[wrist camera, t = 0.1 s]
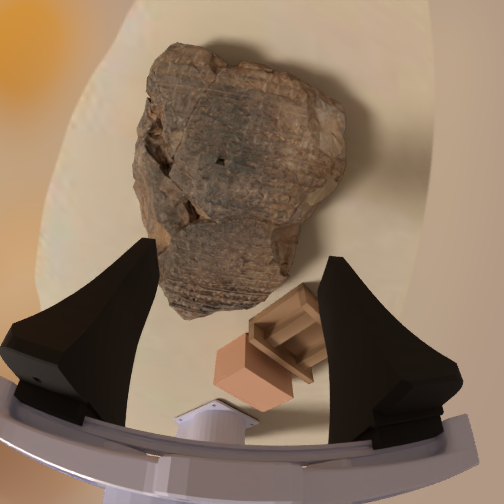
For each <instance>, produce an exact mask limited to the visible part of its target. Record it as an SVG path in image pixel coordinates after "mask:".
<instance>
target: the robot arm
mask: <svg viewBox="0 0 504 504" xmlns="http://www.w3.org/2000/svg"><path fill="white" fill-rule="evenodd" d="M159 278H160V272H159V264H158V256H157V247H156V239H151V238H141V239H140V240H139V241H138V242H136V243H135V244H134V245H133V246H132V247H131V248H130V249H129V250H128V251H126V252H125V253H124V254H123V255H122V256H121V257H120V258H119V259H117V260H116V261H115V262H114V263H113V264H112V265H111V266H109V267H108V268H107V269H106V270H105V271H103V272H102V273H101V274H100V275H98V276H97V277H96V278H95V279H94V280H92V281H91V282H90V283H88V284H87V285H85V286H84V287H83V288H81V289H80V290H78V291H77V292H75V293H74V294H72V295H70V296H69V297H67V298H65V299H64V300H62V301H60V302H59V303H57V304H55V305H54V306H52V307H50V308H48V309H46V310H44V311H42V312H40V313H38V314H35V315H33V316H31V317H28V318H26V319H23V320H21V321H18V322H16V323H14V324H12V326H11V328H10V329H9V331H8V333H7V335H6V337H5V339H4V341H3V342H2V344H1V346H0V355H1V357H2V359H3V360H4V362H5V363H6V364H7V366H8V367H9V368H10V369H11V370H12V371H13V372H14V374H15V375H16V376H17V377H18V378H19V379H20V381H19V383H18V385H16V384H15V383H13V382H12V381H10V380H7V379H6V378H3V377H1V376H0V441H1V442H3V443H4V444H6V445H7V446H9V447H11V448H12V449H14V450H16V451H18V452H20V453H22V454H24V455H25V456H27V457H29V458H31V459H33V460H35V461H37V462H39V463H41V464H44V465H46V466H48V467H50V468H52V469H55V470H57V471H59V472H61V473H63V474H66V475H68V476H71V477H73V478H76V479H79V480H81V481H84V482H87V483H89V484H92V485H95V486H98V487H101V488H104V489H105V492H104V498H103V504H362V503H367V502H372V501H377V500H380V499H385V498H389V497H393V496H396V495H400V494H404V493H407V492H410V491H414V490H417V489H420V488H423V487H426V486H429V485H432V484H435V483H438V482H441V481H443V480H446V479H448V478H451V477H453V476H455V475H457V474H459V473H462V472H464V471H466V470H468V469H470V468H472V467H474V466H476V465H478V464H479V458H478V453H477V449H476V445H475V441H474V437H473V433H472V429H471V426H470V422H469V418H468V415H467V414H463V415H459V416H456V417H452V418H449V419H446V420H444V421H441V417H440V415H442V414H443V412H444V411H443V407H442V405H443V404H444V403H446V402H447V401H448V400H449V399H450V398H452V397H453V396H454V395H455V394H456V393H457V392H458V391H459V390H460V389H461V387H462V385H463V379H462V377H461V374H460V371H459V368H458V366H457V363H455V362H454V361H452V360H450V359H449V358H447V357H445V356H443V355H442V354H440V353H438V352H437V351H436V350H434V349H433V348H431V347H430V346H428V345H427V344H426V343H424V342H423V341H421V340H420V339H419V338H418V337H416V336H415V335H414V334H413V333H411V332H410V331H409V330H408V329H407V328H406V327H404V326H403V325H402V324H401V323H400V322H399V321H398V320H397V319H396V318H395V317H394V316H393V315H392V314H391V313H390V312H389V311H388V310H387V309H386V308H385V307H384V306H383V305H382V304H381V303H380V302H379V300H378V299H377V298H376V297H375V296H374V295H373V294H372V292H371V291H370V290H369V289H368V288H367V286H366V285H365V284H364V283H363V281H362V280H361V279H360V278H359V276H358V275H357V274H356V273H355V271H354V270H353V269H352V268H351V266H350V265H349V264H348V263H347V261H346V260H345V259H344V258H343V257H336V256H329V259H328V262H327V265H326V268H325V271H324V274H323V277H322V280H321V282H320V285H319V288H318V305H319V314H320V320H321V325H322V330H323V335H324V340H325V345H326V351H327V356H328V364H329V380H330V425H329V441H328V444H324V445H301V446H263V445H245V430H246V429H248V428H251V427H253V426H256V425H258V424H259V421H258V420H256V419H254V418H252V417H250V416H248V415H246V414H244V413H242V412H240V411H238V410H236V409H234V408H232V407H230V406H229V405H227V404H225V403H223V402H221V401H219V400H214V401H212V402H210V403H208V404H206V405H204V406H201V407H199V408H197V409H195V410H193V411H190V412H188V413H186V414H183V415H181V416H179V417H176V418H174V422H175V423H177V424H178V428H177V434H176V437H171V436H165V435H160V434H154V433H149V432H144V431H140V430H135V429H131V428H127V427H125V420H126V409H127V400H128V393H129V385H130V379H131V374H132V368H133V363H134V358H135V354H136V349H137V345H138V342H139V339H140V336H141V333H142V330H143V328H144V325H145V322H146V319H147V317H148V314H149V311H150V309H151V306H152V303H153V301H154V298H155V294H156V290H157V287H158V282H159ZM146 453H148V454H153V455H158V456H161V457H154V456H147V454H146ZM302 466H307V467H306V468H302Z"/></svg>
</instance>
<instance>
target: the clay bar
mask: <svg viewBox="0 0 504 504" xmlns="http://www.w3.org/2000/svg"><path fill="white" fill-rule="evenodd" d="M213 384H214V385H215V386H217V387H219V388H220V389H222V390H224V391H225V392H227V393H229V394H231V395H232V396H234V397H236V398H238V399H239V400H241V401H243V402H245V403H247V404H248V405H250V406H252V407H254V408H256V409H258V410H260V411H261V412H265V411H267V410H269V409H272V408H274V407H276V406H278V405H280V404H283V403H285V402H287V401H289V400H291V399H293V398H294V397H293V388H292V379H291V372H290V371H289V370H287V369H286V368H285V367H283V366H282V365H280V364H279V363H278V362H276V361H275V360H273V359H272V358H271V357H269V356H268V355H266V354H265V353H264V352H262V351H261V350H260V349H258V348H257V347H255V346H254V345H253V344H251V343H250V342H249V335H248V334H246V333H245V334H243V335H241V336H240V337H238V338H237V339H235V340H234V341H232V342H231V343H229V344H227V345H226V346H224V347H223V348H221V349H220V350H218V351H217V357H216V365H215V374H214V383H213Z"/></svg>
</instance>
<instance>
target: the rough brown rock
mask: <svg viewBox="0 0 504 504" xmlns="http://www.w3.org/2000/svg"><path fill="white" fill-rule="evenodd" d="M146 92H147V93H148V95H149V96H150V98H148V97H147V100H146V106H145V111H144V113H143V116H142V118H141V120H140V122H139V125H138V127H137V135H138V140H137V142H136V144H135V156H134V163H133V164H132V167H133V177H134V179H135V183H134V185H133V188H134V191H135V193H136V195H137V198H138V200H139V202H140V210H141V216H142V221H143V224H144V226H145V228H146V230H147V232H148V238H151V239H156V247H157V256H158V264H159V272H160V278H159V282H158V284H159V285H160V287H161V288H162V290H163V292H164V295H165V296H166V297H167V298H168V301H169V306H171V307H172V308H173V309H174V310H175V311H176V312H177V313H178V314H179V315H180V316H181V317H182V318H183V319H185V320H192V319H195V318H199V317H205V316H208V315H210V314H212V313H214V312H217V311H232V310H242V309H246V310H247V309H250V308H252V307H255V306H256V305H258V304H259V303H260V302H263V301H265V300H266V299H267V297H268V296H269V294H271V293H272V292H273V291H274V290H275V289H276V288H278V287H279V286H281V285H282V284H283V283H284V282H285V281H286V280H287V279H288V277H289V274H288V271H289V268H290V266H291V265H292V263H293V259H294V255H295V248H296V245H297V243H298V235H299V232H300V229H301V224H302V222H304V221H305V220H307V219H309V218H310V217H311V214H312V212H313V211H314V210H315V209H316V208H317V206H318V205H319V204H320V202H321V200H322V199H323V198H325V197H326V196H328V195H329V194H331V193H332V192H334V190H335V189H336V187H337V186H338V184H339V183H340V181H341V179H342V176H343V173H344V170H345V167H346V144H345V140H344V131H345V127H346V116H345V112H344V109H343V107H342V106H341V104H340V103H339V102H337V101H335V100H333V99H331V98H329V97H327V96H326V95H325V94H324V93H322V92H320V91H319V90H317V89H315V88H313V87H311V86H309V85H308V84H305V83H303V82H301V81H300V80H299V79H297V78H296V77H294V76H293V75H291V74H289V73H288V72H282V73H281V72H276V71H274V70H273V69H270V68H268V67H267V66H264V65H260V64H256V63H251V62H244V61H241V62H240V63H239V64H238V65H236V66H233V67H231V66H228V64H227V63H226V62H225V61H224V60H223V59H221V58H218V57H217V56H216V54H214V53H212V52H210V51H208V50H206V49H204V48H202V47H199V46H194V45H188V44H182V43H178V42H177V43H175V44H172V45H170V46H169V47H168V48H167V50H166V51H165V52H164V53H162V54H161V55H160V56H159V57H158V58H157V59H156V60H155V61H154V63H153V65H152V67H151V68H150V74H149V76H148V77H147V86H146Z"/></svg>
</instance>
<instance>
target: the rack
mask: <svg viewBox="0 0 504 504" xmlns="http://www.w3.org/2000/svg"><path fill="white" fill-rule="evenodd" d="M249 342H250V343H251V344H253V345H254V346H255V347H257V348H258V349H260V350H261V351H262V352H264V353H265V354H266V355H268V356H269V357H271V358H272V359H273V360H275V361H276V362H278V363H279V364H280V365H282V366H283V367H285V368H286V369H287V370H289V371H290V372H292V373H293V374H295V375H296V376H298V377H299V378H300V379H302V380H303V381H305V382H306V383H308V384H311V383H313V382H314V380H313V374H312V369H311V367H313V366H314V365H316V364H318V363H320V362H321V361H323V360H325V359H327V358H328V356H327V351H326V345H325V340H324V335H323V330H322V325H321V320H320V314H319V305H318V298H317V297H316V296H315V295H314V294H313V293H312V292H311V291H310V290H309V289H308V288H307V287H306V286H305V285H304V284H303V283H301V284H300V285H298V286H297V287H296V288H294V289H293V290H292V291H290V292H289V293H287V294H286V295H285V296H283V297H282V298H280V299H279V300H277V301H276V302H275V303H273V304H272V305H270V306H269V307H268V308H266V309H265V310H263V311H262V312H260V313H259V314H257V315H256V316H255V317H253V318H252V319H250V320H249Z"/></svg>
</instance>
